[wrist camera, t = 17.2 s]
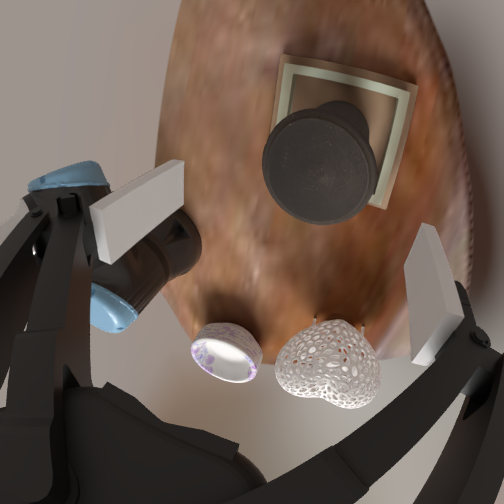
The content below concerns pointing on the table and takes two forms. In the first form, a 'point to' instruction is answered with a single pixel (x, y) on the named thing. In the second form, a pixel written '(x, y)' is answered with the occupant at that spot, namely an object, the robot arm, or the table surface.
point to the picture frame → (361, 96)
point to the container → (321, 163)
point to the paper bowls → (227, 352)
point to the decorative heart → (330, 364)
